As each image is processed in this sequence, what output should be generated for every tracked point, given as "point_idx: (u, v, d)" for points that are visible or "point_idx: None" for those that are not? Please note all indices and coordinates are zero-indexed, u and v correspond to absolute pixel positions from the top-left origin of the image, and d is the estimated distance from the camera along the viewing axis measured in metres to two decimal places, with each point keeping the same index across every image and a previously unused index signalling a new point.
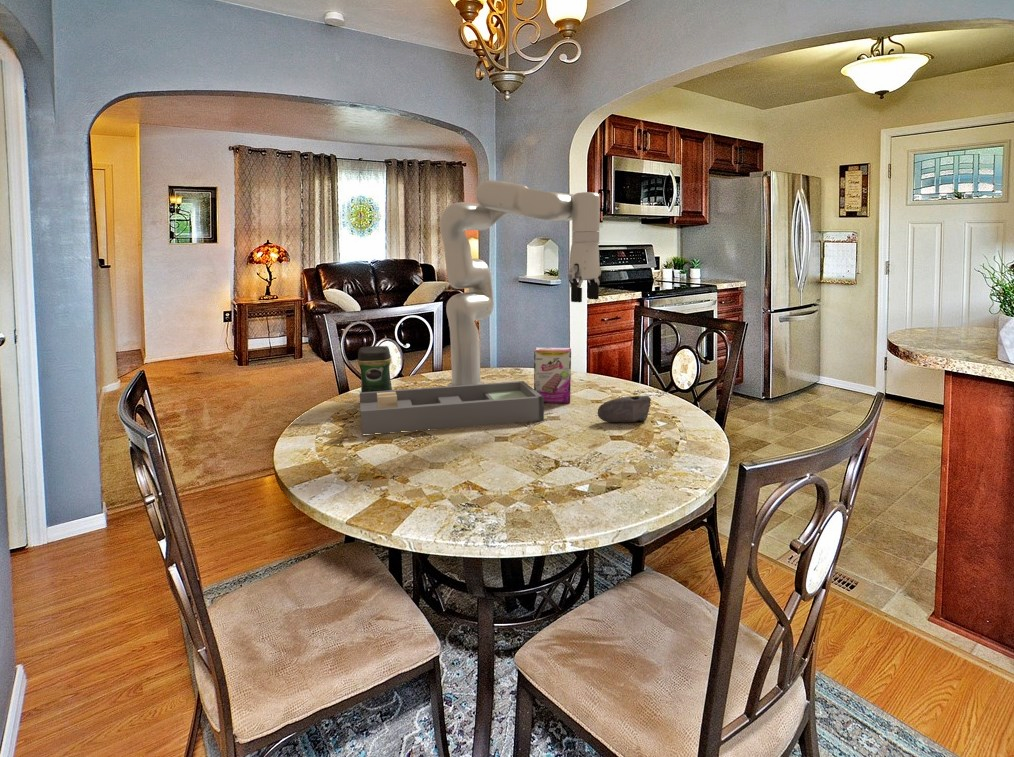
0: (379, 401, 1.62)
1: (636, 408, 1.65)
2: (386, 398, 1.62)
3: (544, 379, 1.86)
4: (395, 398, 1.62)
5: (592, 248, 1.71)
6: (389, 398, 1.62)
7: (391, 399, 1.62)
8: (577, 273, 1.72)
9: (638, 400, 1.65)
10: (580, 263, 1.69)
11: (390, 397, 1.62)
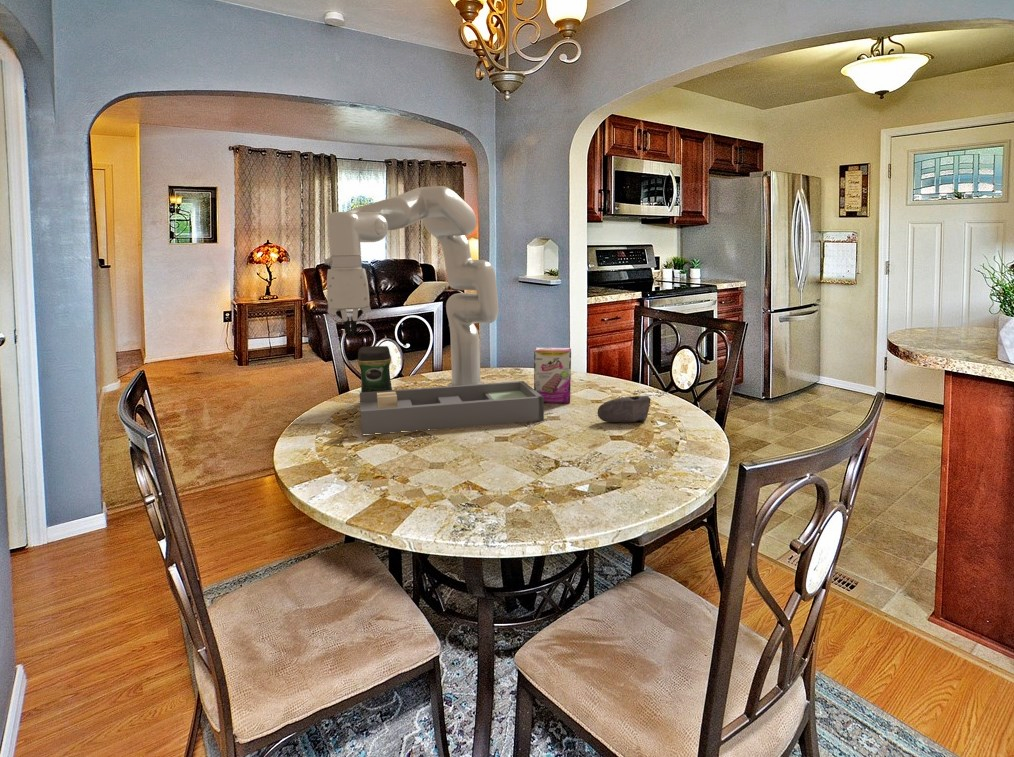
0: (379, 401, 1.62)
1: (636, 408, 1.65)
2: (386, 398, 1.62)
3: (544, 379, 1.86)
4: (395, 398, 1.62)
5: None
6: (389, 398, 1.62)
7: (391, 399, 1.62)
8: None
9: (638, 400, 1.65)
10: None
11: (390, 397, 1.62)
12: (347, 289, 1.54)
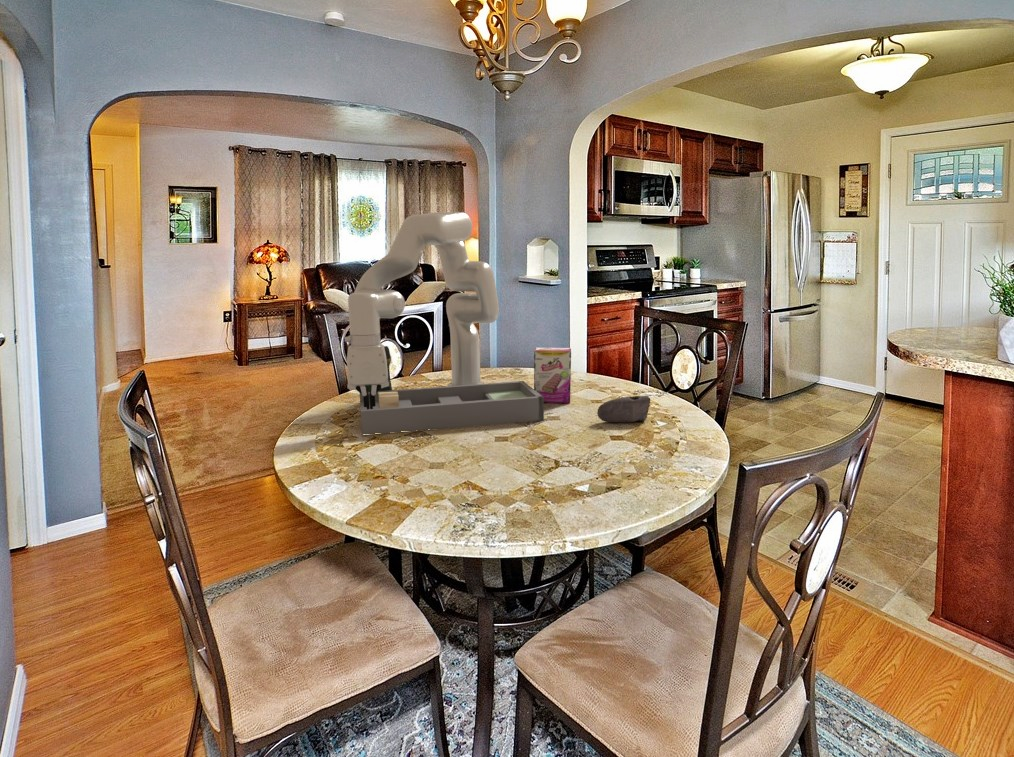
0: (380, 400, 1.61)
1: (636, 408, 1.65)
2: (388, 398, 1.62)
3: (544, 379, 1.86)
4: (397, 398, 1.62)
5: None
6: (391, 398, 1.62)
7: (392, 399, 1.62)
8: None
9: (638, 400, 1.65)
10: None
11: (392, 397, 1.62)
12: (366, 366, 1.59)
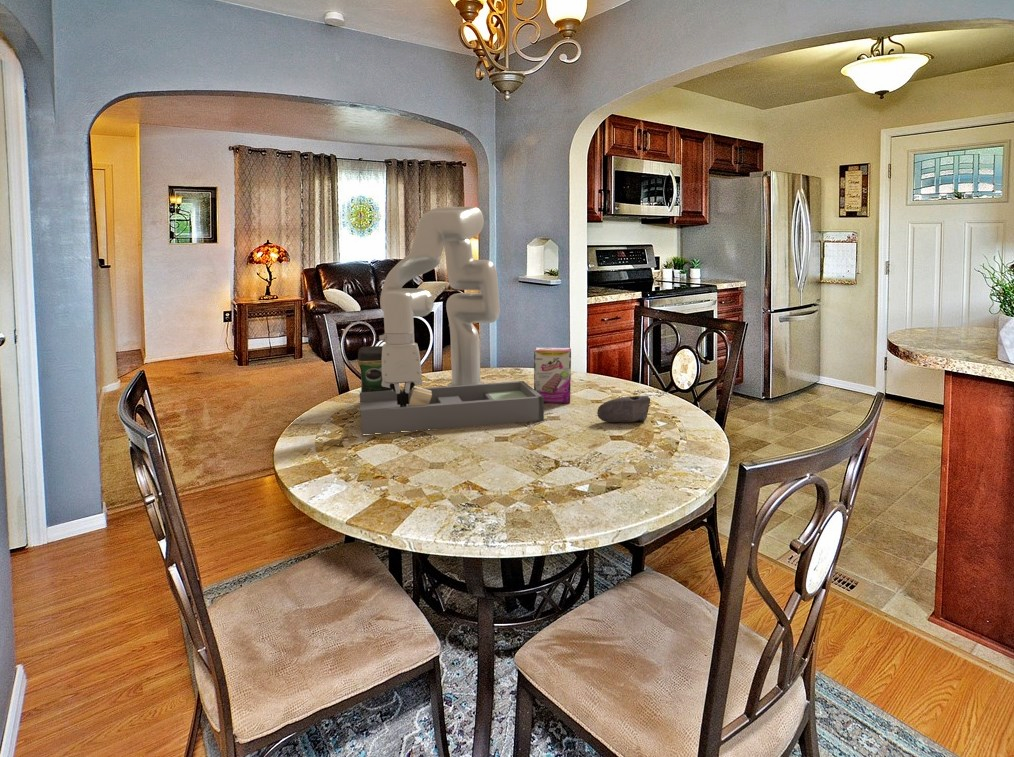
0: (413, 394, 1.63)
1: (636, 408, 1.65)
2: (421, 394, 1.63)
3: (544, 379, 1.86)
4: (429, 397, 1.64)
5: None
6: (424, 395, 1.63)
7: (425, 396, 1.63)
8: None
9: (638, 400, 1.65)
10: None
11: (425, 394, 1.63)
12: (401, 364, 1.61)
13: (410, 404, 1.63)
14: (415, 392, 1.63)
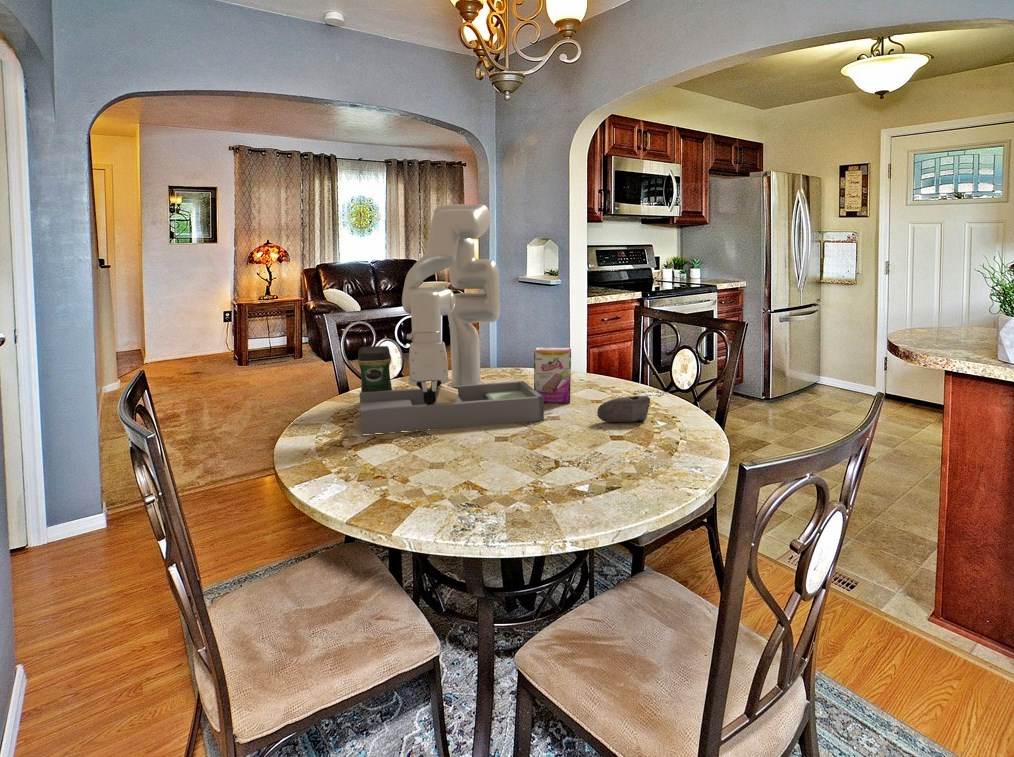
0: (440, 392, 1.64)
1: (636, 408, 1.65)
2: (447, 392, 1.64)
3: (544, 379, 1.86)
4: (456, 395, 1.65)
5: None
6: (450, 393, 1.64)
7: (452, 395, 1.65)
8: None
9: (638, 400, 1.65)
10: None
11: (451, 393, 1.64)
12: (428, 363, 1.62)
13: (437, 402, 1.65)
14: (442, 390, 1.64)
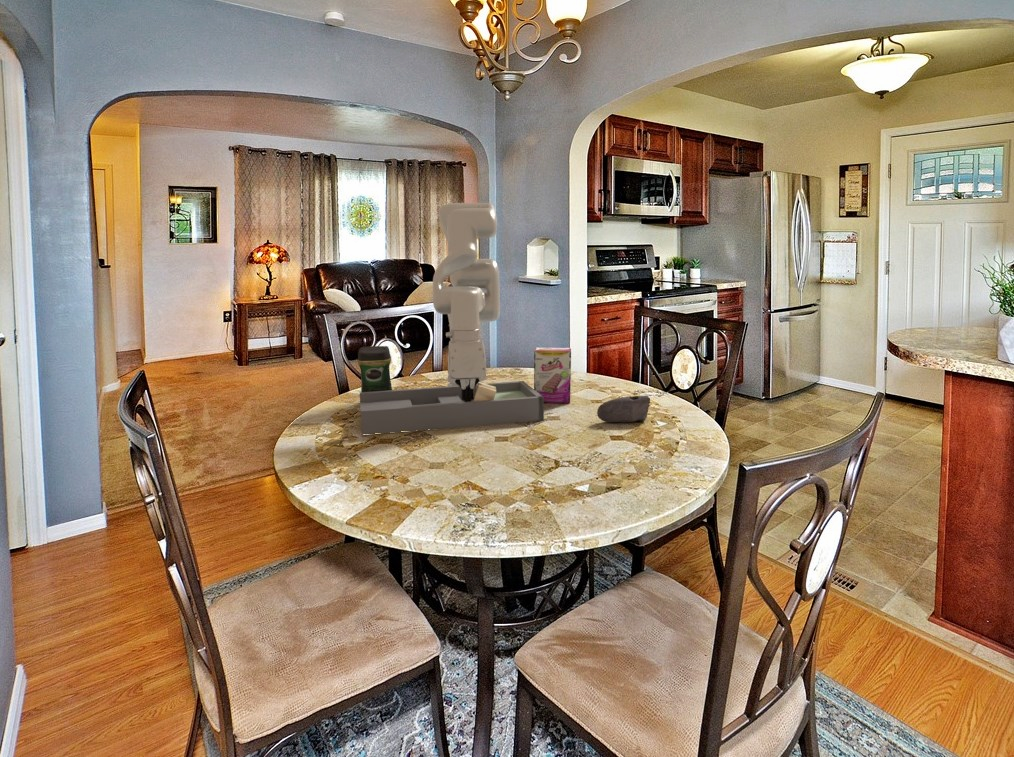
0: (478, 390, 1.66)
1: (636, 408, 1.65)
2: (486, 390, 1.66)
3: (544, 379, 1.86)
4: (494, 393, 1.67)
5: None
6: (488, 391, 1.66)
7: (490, 392, 1.66)
8: None
9: (637, 400, 1.65)
10: None
11: (490, 390, 1.66)
12: (467, 360, 1.65)
13: (475, 400, 1.67)
14: (480, 388, 1.66)
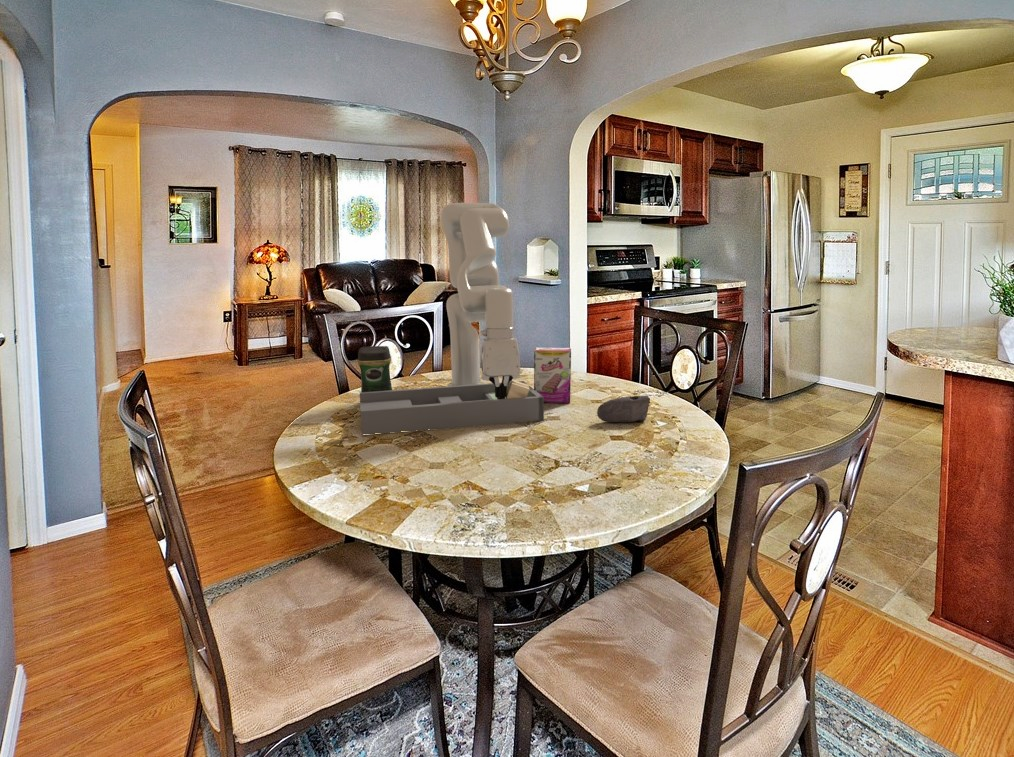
0: (512, 387, 1.68)
1: (636, 408, 1.65)
2: (519, 387, 1.68)
3: (544, 379, 1.86)
4: (527, 391, 1.69)
5: None
6: (522, 388, 1.68)
7: (523, 390, 1.69)
8: None
9: (637, 400, 1.65)
10: None
11: (523, 388, 1.68)
12: (502, 358, 1.67)
13: (508, 397, 1.69)
14: (513, 386, 1.68)
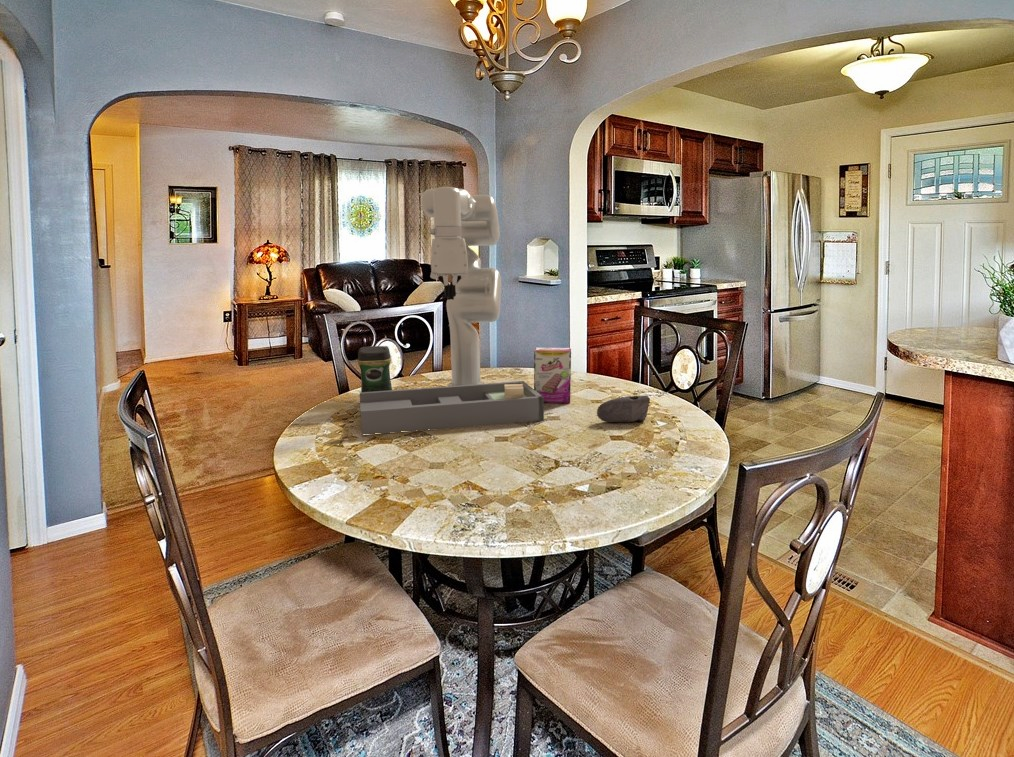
0: (506, 392, 1.69)
1: (636, 408, 1.65)
2: (513, 390, 1.68)
3: (544, 379, 1.86)
4: (522, 390, 1.69)
5: None
6: (516, 390, 1.68)
7: (518, 391, 1.69)
8: None
9: (637, 400, 1.65)
10: None
11: (517, 389, 1.68)
12: (449, 256, 1.72)
13: None
14: (507, 390, 1.68)
